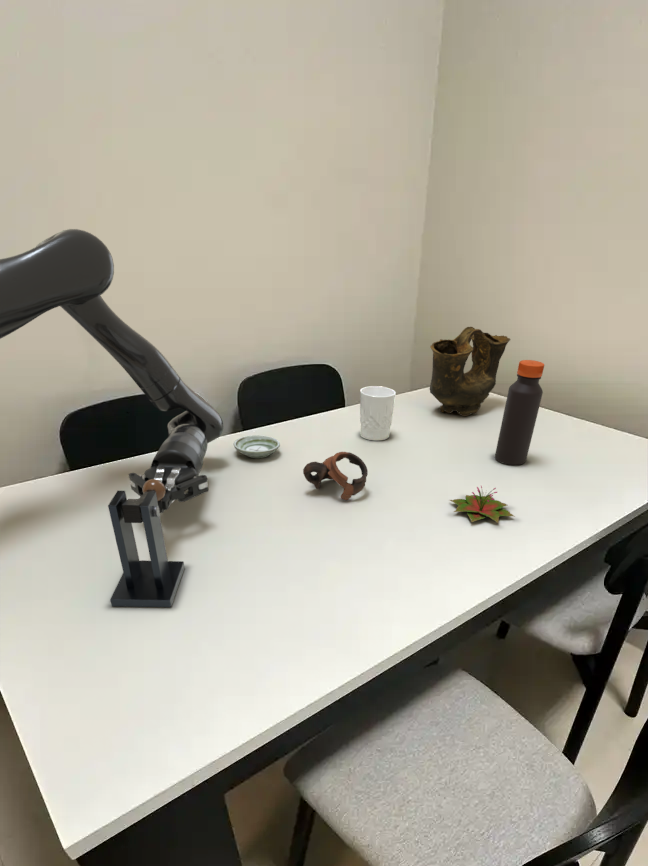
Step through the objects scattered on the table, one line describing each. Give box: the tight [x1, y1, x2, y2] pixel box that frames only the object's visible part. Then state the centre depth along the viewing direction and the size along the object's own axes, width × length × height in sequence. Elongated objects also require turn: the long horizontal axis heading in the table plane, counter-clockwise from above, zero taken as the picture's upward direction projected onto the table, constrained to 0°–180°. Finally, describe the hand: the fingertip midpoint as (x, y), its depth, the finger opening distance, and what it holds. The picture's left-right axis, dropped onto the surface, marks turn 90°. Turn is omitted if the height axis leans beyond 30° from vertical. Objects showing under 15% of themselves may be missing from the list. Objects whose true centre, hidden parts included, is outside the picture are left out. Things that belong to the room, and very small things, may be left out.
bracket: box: [107, 490, 186, 608], centre depth 79 cm, size 10×8×14 cm
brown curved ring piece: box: [302, 451, 369, 501], centre depth 109 cm, size 12×9×8 cm
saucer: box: [233, 434, 281, 459], centre depth 123 cm, size 10×10×2 cm
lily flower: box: [449, 485, 516, 524], centre depth 106 cm, size 12×12×5 cm
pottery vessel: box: [429, 326, 511, 417], centre depth 147 cm, size 25×11×20 cm, turn 132°
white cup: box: [359, 385, 397, 441], centre depth 132 cm, size 8×8×10 cm
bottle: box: [494, 359, 545, 466], centre depth 121 cm, size 7×7×20 cm
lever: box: [122, 479, 166, 524], centre depth 81 cm, size 13×3×3 cm, turn 2°
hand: (157, 507), depth 87 cm, fingers closed
